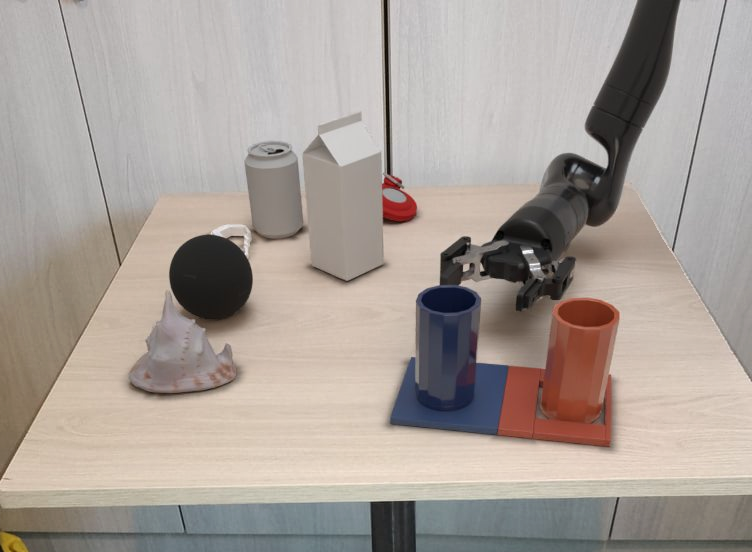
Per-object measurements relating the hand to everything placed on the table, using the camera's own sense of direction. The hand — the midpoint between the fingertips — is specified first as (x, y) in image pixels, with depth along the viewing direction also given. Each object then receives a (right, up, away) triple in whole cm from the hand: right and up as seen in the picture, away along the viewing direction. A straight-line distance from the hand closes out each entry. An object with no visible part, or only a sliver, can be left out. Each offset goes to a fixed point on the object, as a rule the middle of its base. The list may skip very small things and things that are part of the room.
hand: (481, 295), depth 85 cm
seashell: (-33, -7, +7) cm, 34 cm away
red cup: (+9, -12, -1) cm, 15 cm away
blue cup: (-4, -10, 0) cm, 11 cm away
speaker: (-31, +2, +17) cm, 35 cm away
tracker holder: (-8, +24, +40) cm, 47 cm away
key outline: (-31, +15, +31) cm, 46 cm away
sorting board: (+2, -11, +1) cm, 11 cm away
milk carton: (-15, +11, +26) cm, 32 cm away
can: (-25, +19, +35) cm, 47 cm away
